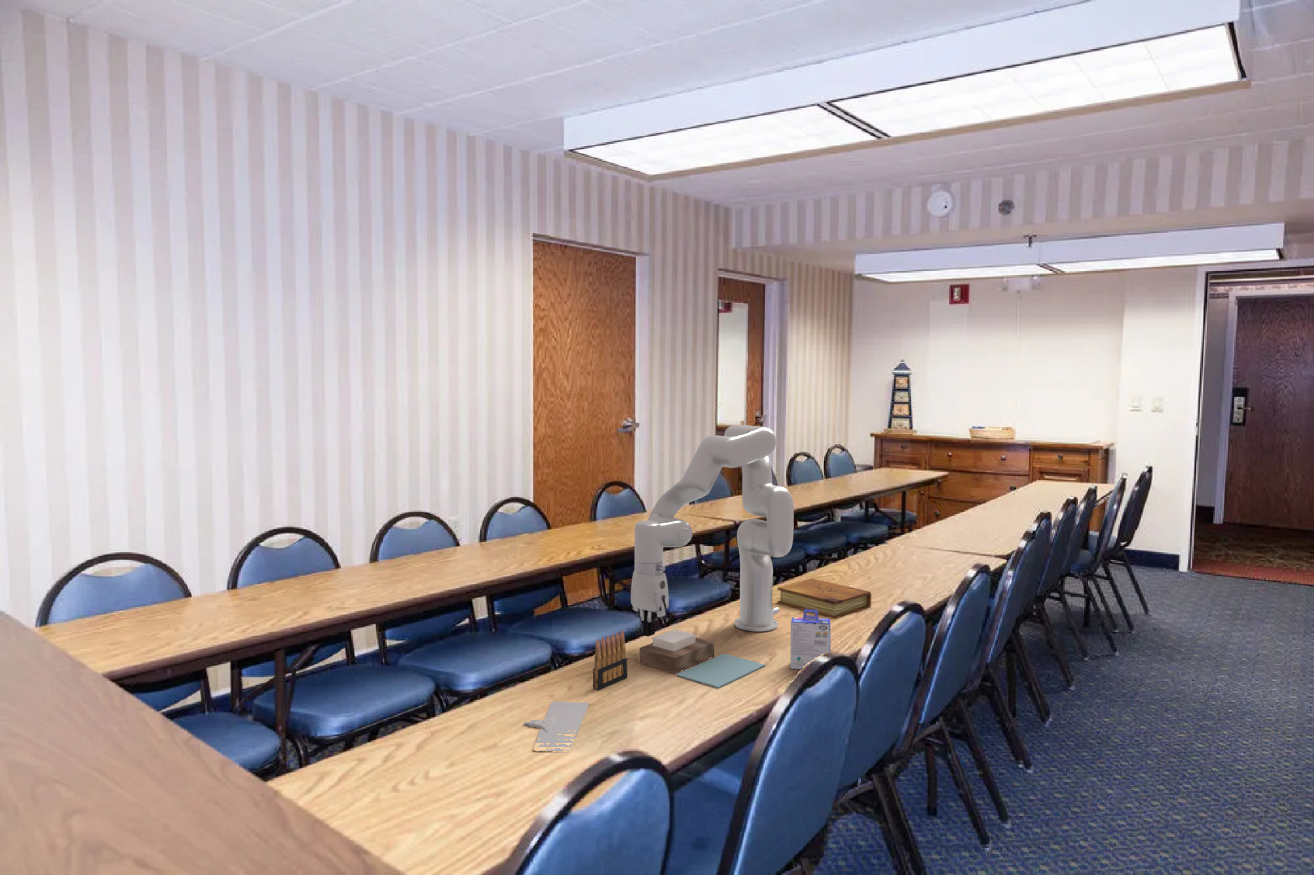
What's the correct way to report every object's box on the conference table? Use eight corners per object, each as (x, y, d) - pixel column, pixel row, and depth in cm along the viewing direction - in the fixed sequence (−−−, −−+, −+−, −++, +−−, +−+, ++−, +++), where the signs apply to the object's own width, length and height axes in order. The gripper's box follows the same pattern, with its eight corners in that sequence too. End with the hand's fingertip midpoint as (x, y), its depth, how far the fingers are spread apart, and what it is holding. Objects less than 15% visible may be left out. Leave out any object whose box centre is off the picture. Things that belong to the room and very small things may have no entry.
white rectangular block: (674, 637, 224) (674, 629, 224) (695, 642, 219) (695, 634, 219) (652, 645, 217) (652, 637, 217) (673, 651, 213) (673, 642, 213)
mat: (723, 655, 222) (723, 653, 222) (765, 666, 213) (765, 664, 213) (676, 675, 207) (676, 674, 207) (718, 688, 198) (718, 687, 198)
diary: (871, 609, 267) (871, 591, 267) (835, 620, 255) (835, 601, 255) (813, 594, 285) (813, 577, 284) (777, 604, 272) (777, 586, 272)
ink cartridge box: (830, 664, 215) (830, 609, 213) (830, 672, 209) (831, 615, 208) (791, 662, 216) (791, 607, 215) (790, 669, 211) (790, 613, 210)
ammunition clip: (621, 676, 207) (621, 628, 206) (627, 677, 206) (627, 630, 205) (592, 689, 198) (592, 639, 197) (598, 690, 197) (598, 640, 196)
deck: (678, 647, 228) (678, 633, 228) (714, 657, 220) (714, 642, 220) (639, 662, 216) (639, 647, 216) (675, 673, 208) (675, 658, 208)
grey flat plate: (534, 703, 190) (534, 698, 190) (637, 707, 190) (637, 702, 190) (511, 753, 166) (512, 747, 165) (630, 758, 165) (630, 752, 165)
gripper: (679, 569, 221) (679, 637, 222) (637, 561, 230) (637, 626, 232) (660, 574, 215) (661, 644, 216) (618, 565, 225) (619, 632, 226)
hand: (648, 634), depth 224 cm, fingers closed
